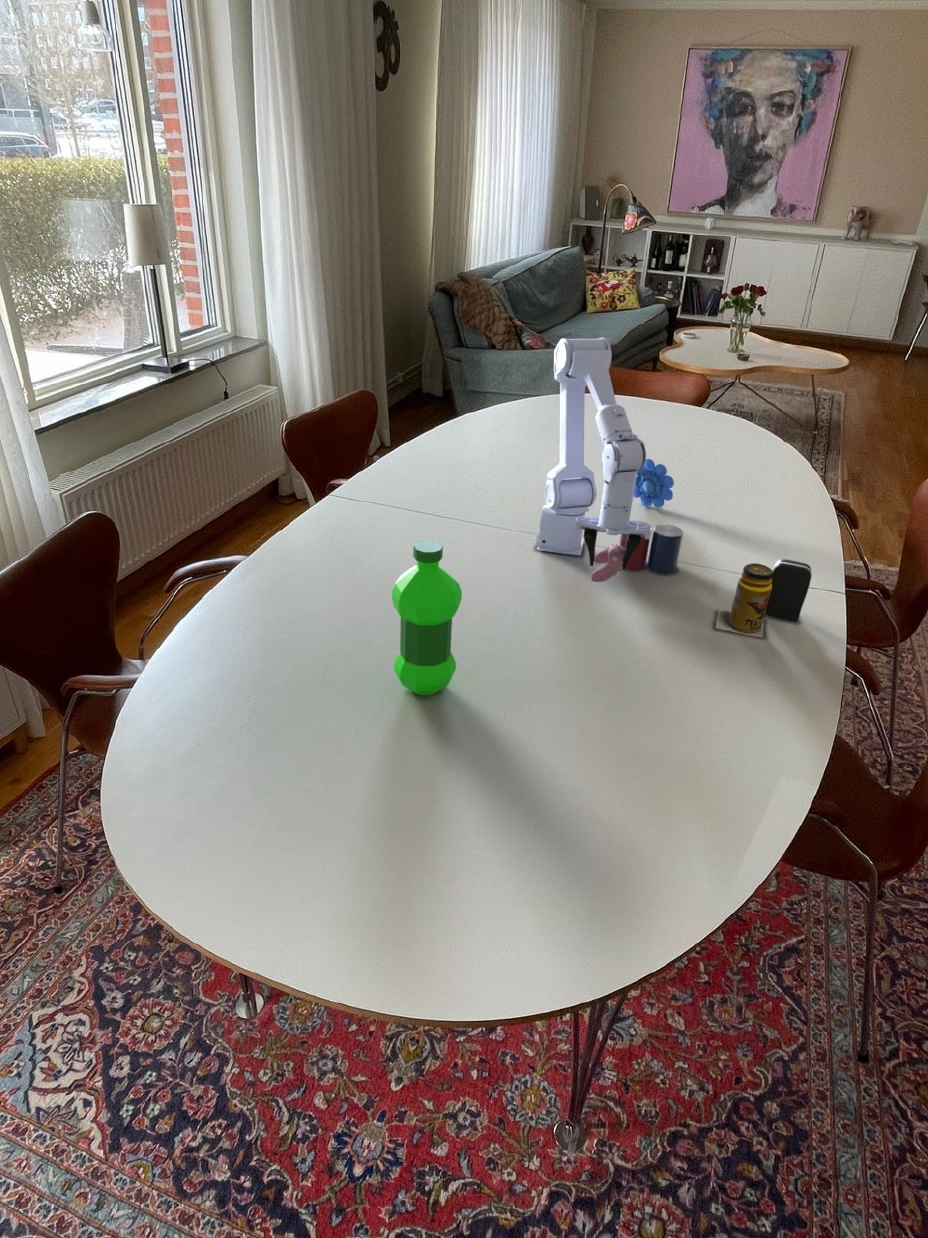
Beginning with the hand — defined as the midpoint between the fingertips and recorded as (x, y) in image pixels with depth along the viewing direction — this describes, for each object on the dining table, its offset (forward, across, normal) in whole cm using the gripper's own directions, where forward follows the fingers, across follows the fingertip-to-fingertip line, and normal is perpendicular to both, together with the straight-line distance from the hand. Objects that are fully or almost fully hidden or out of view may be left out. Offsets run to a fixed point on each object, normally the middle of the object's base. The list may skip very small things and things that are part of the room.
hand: (607, 566), depth 165 cm
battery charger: (+5, +34, -1) cm, 34 cm away
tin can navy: (+5, +11, +13) cm, 18 cm away
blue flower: (+5, +7, +46) cm, 47 cm away
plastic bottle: (+5, -26, -43) cm, 51 cm away
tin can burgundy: (+5, +5, +13) cm, 15 cm away
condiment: (+5, +26, -7) cm, 27 cm away
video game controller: (+2, 0, 0) cm, 2 cm away
